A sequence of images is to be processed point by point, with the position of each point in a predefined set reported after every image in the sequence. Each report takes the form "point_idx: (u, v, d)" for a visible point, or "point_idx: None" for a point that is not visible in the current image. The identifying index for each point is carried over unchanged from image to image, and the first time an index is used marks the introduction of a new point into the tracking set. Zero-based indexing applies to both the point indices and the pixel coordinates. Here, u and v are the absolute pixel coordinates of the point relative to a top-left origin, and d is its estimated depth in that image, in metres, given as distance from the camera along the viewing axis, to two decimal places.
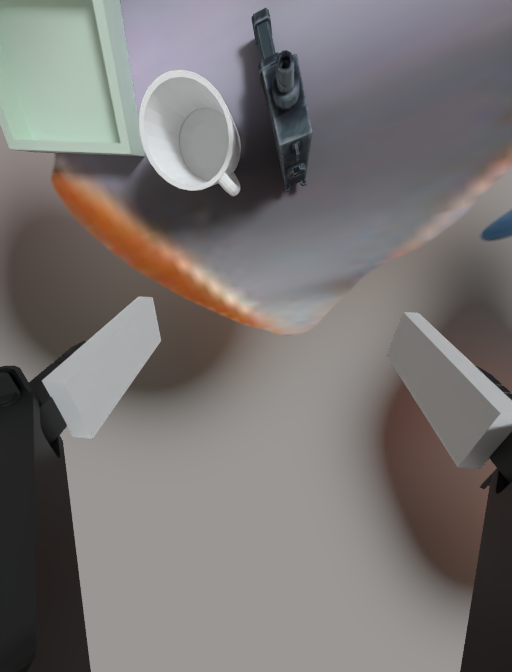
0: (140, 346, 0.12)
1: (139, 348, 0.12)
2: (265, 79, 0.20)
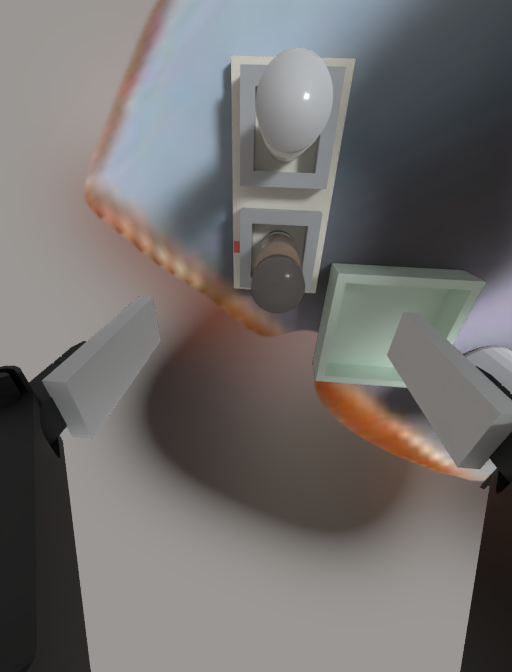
0: (140, 346, 0.12)
1: (139, 348, 0.12)
2: None
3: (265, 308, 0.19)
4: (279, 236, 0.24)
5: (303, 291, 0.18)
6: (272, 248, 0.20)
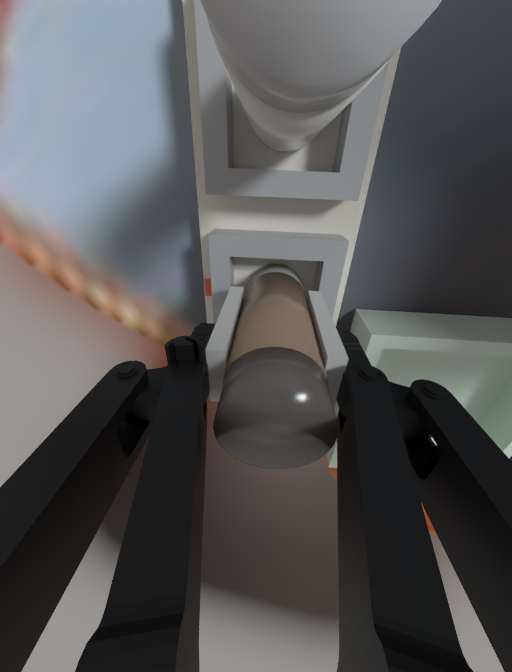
0: None
1: None
2: None
3: (248, 461, 0.09)
4: (277, 281, 0.14)
5: (333, 439, 0.08)
6: (264, 321, 0.10)
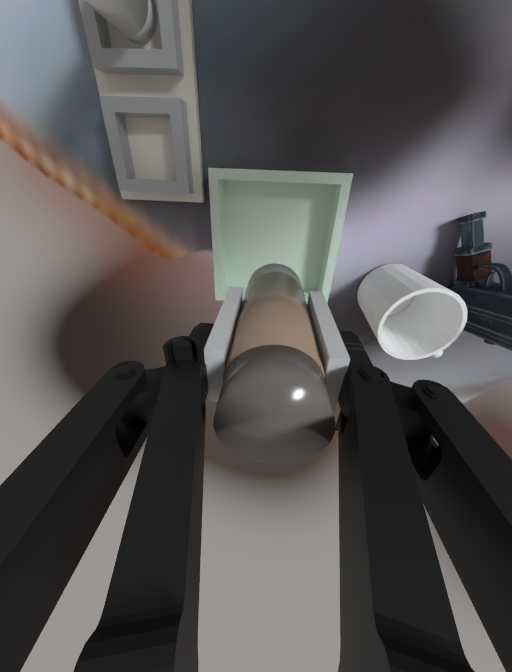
0: None
1: None
2: None
3: (247, 456, 0.09)
4: (276, 281, 0.14)
5: (330, 435, 0.08)
6: (263, 320, 0.10)
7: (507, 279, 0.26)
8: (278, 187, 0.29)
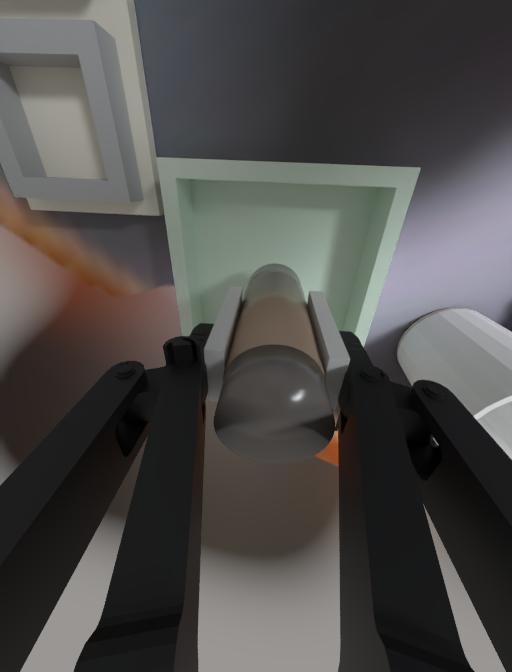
0: None
1: None
2: None
3: (247, 456, 0.09)
4: (276, 281, 0.14)
5: (330, 434, 0.08)
6: (263, 320, 0.10)
7: None
8: (282, 191, 0.18)
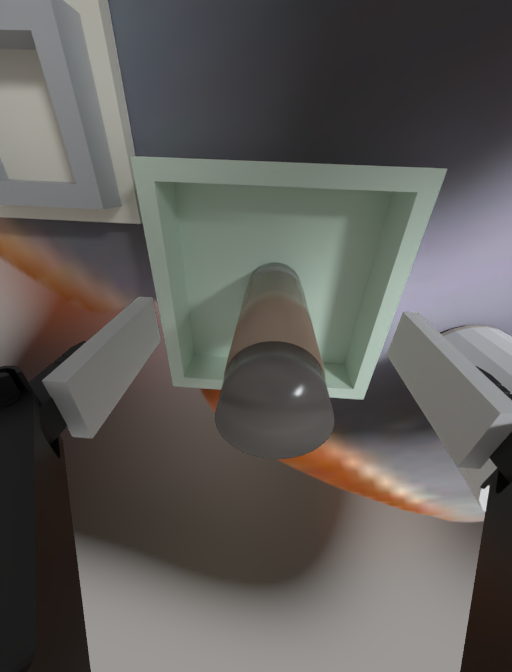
0: (140, 346, 0.12)
1: (139, 348, 0.12)
2: None
3: (248, 451, 0.09)
4: (277, 279, 0.14)
5: (329, 429, 0.08)
6: (263, 317, 0.11)
7: None
8: (281, 196, 0.15)
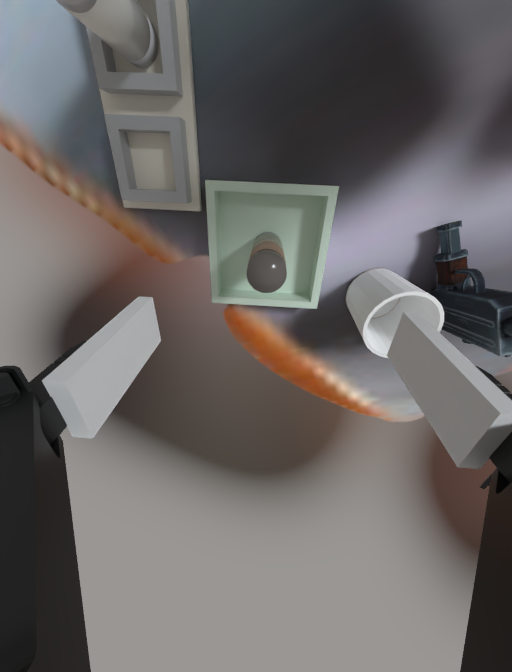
0: (140, 346, 0.12)
1: (139, 348, 0.12)
2: (498, 314, 0.25)
3: (257, 289, 0.25)
4: (268, 236, 0.31)
5: (285, 276, 0.25)
6: (262, 244, 0.27)
7: (480, 283, 0.29)
8: (270, 197, 0.32)
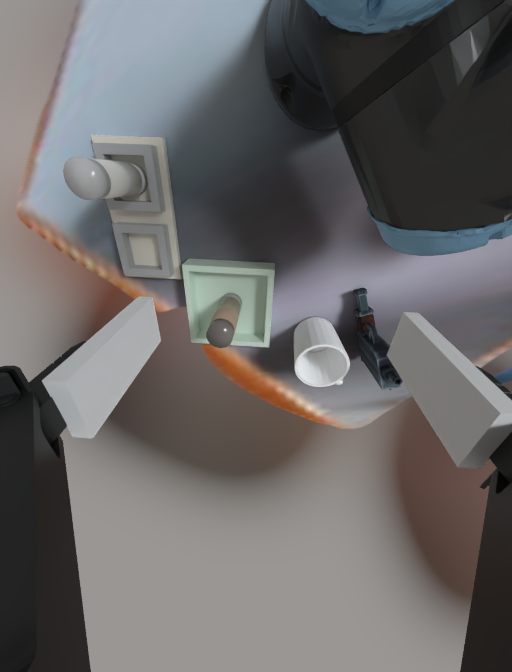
0: (140, 346, 0.12)
1: (139, 348, 0.12)
2: (378, 363, 0.38)
3: (214, 345, 0.38)
4: (228, 300, 0.43)
5: (232, 338, 0.37)
6: (219, 313, 0.39)
7: (375, 337, 0.41)
8: None
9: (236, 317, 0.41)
